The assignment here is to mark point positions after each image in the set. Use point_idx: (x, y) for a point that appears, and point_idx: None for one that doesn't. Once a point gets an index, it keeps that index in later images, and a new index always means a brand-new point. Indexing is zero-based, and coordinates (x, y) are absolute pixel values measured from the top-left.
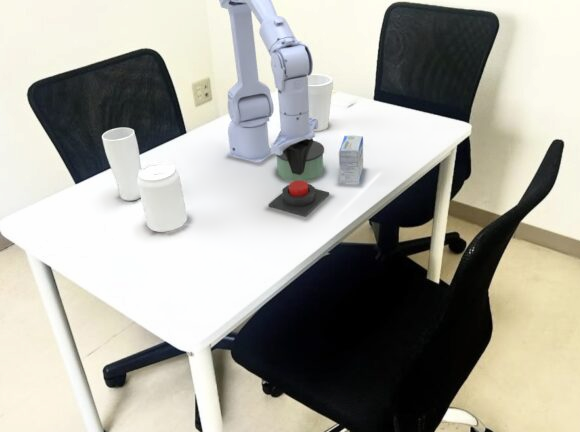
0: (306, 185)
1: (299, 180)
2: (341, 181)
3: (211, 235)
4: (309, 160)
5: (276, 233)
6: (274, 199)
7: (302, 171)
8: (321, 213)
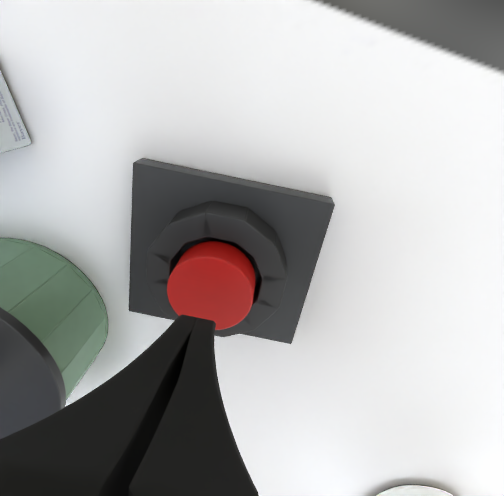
0: (201, 263)
1: (93, 298)
2: (19, 139)
3: (461, 420)
4: (8, 315)
5: (440, 266)
6: (256, 336)
7: (196, 324)
8: (273, 150)
